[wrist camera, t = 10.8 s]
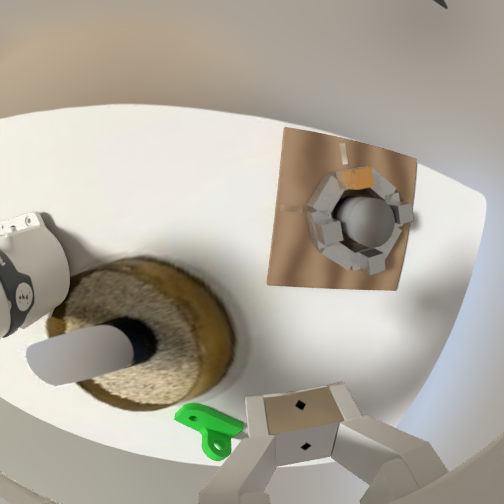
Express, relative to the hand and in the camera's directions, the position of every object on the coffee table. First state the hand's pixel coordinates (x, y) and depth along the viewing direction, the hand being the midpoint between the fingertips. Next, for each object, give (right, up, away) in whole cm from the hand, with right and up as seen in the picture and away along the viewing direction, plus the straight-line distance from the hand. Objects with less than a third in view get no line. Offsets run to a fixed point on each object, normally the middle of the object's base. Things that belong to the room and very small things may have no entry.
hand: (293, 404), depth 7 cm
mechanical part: (-10, -28, +39) cm, 49 cm away
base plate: (+13, +10, +31) cm, 35 cm away
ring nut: (+13, +10, +29) cm, 34 cm away
